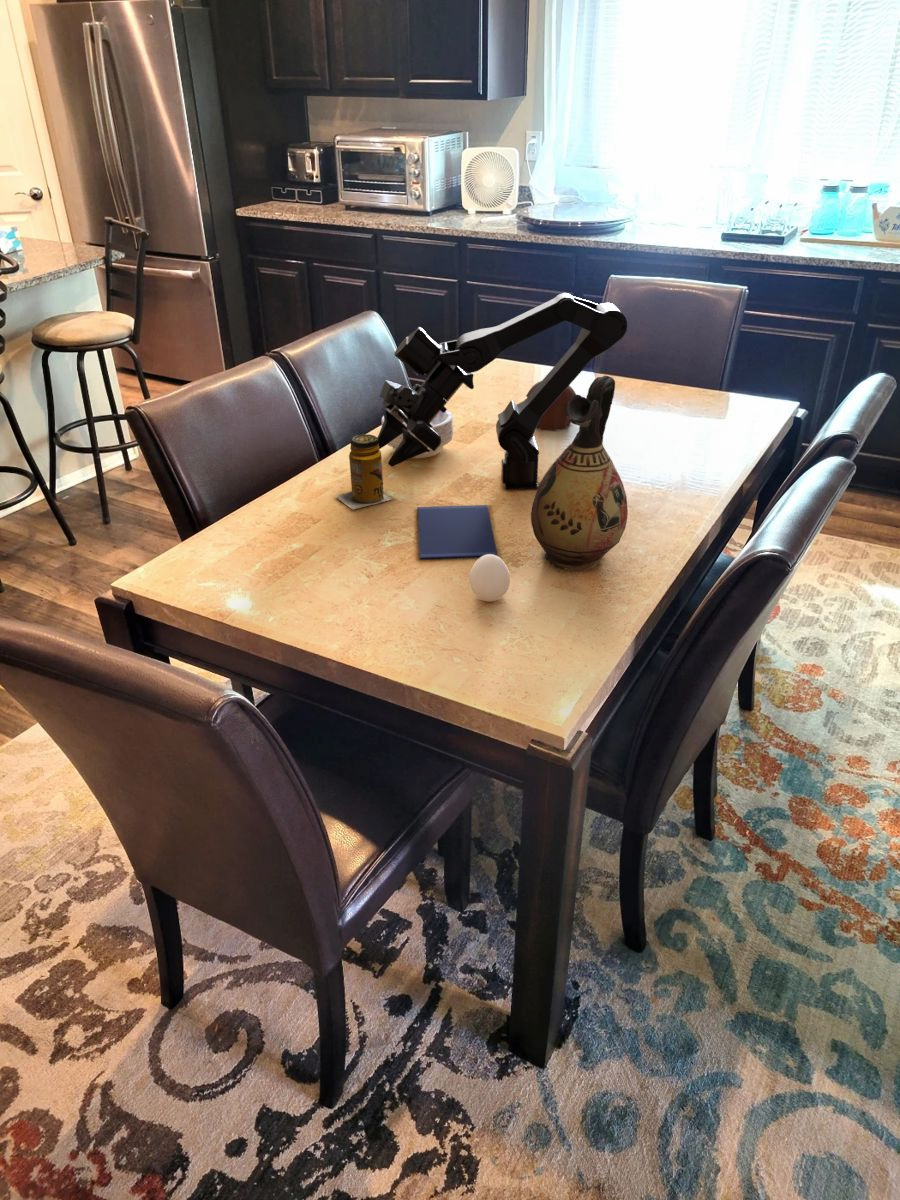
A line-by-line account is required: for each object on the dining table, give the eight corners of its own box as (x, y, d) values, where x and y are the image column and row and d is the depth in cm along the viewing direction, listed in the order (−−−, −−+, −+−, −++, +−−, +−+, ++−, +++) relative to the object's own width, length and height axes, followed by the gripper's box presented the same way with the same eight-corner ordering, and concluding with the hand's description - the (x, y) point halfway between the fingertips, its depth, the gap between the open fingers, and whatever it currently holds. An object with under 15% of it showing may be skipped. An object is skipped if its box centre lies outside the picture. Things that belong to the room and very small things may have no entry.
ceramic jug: (600, 590, 133) (617, 402, 117) (513, 565, 140) (518, 386, 124) (640, 546, 145) (660, 372, 129) (558, 526, 152) (568, 358, 137)
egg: (474, 611, 128) (474, 567, 124) (465, 591, 133) (465, 548, 129) (513, 607, 129) (515, 563, 125) (503, 587, 134) (504, 544, 130)
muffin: (583, 421, 199) (586, 379, 194) (562, 435, 191) (565, 392, 186) (538, 413, 205) (540, 371, 200) (516, 426, 197) (517, 383, 192)
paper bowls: (371, 458, 181) (368, 422, 177) (401, 435, 193) (399, 401, 189) (437, 468, 176) (436, 431, 172) (463, 443, 188) (463, 408, 184)
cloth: (487, 506, 159) (487, 504, 159) (497, 557, 142) (497, 555, 142) (417, 509, 159) (417, 507, 159) (419, 559, 142) (419, 557, 142)
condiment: (392, 499, 163) (389, 440, 156) (352, 510, 159) (348, 449, 152) (373, 487, 168) (370, 428, 162) (335, 497, 164) (330, 438, 158)
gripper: (389, 352, 161) (338, 416, 163) (422, 378, 146) (364, 449, 148) (430, 388, 167) (379, 449, 170) (465, 417, 152) (409, 483, 155)
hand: (382, 456), depth 160 cm, fingers open, 9 cm apart
